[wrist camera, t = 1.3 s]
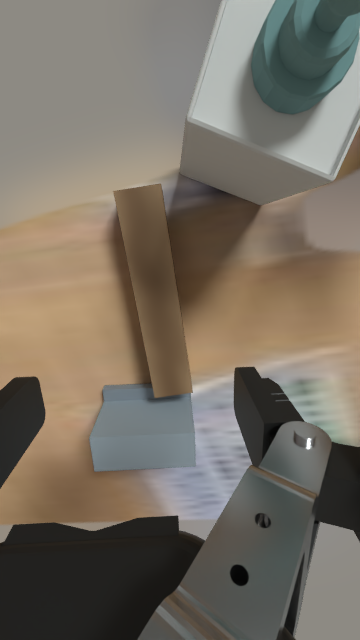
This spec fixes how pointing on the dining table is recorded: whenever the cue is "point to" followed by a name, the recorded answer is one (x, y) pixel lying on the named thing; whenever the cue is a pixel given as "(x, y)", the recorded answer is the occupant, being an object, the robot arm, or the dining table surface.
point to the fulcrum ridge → (142, 430)
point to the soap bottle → (275, 98)
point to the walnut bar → (154, 287)
